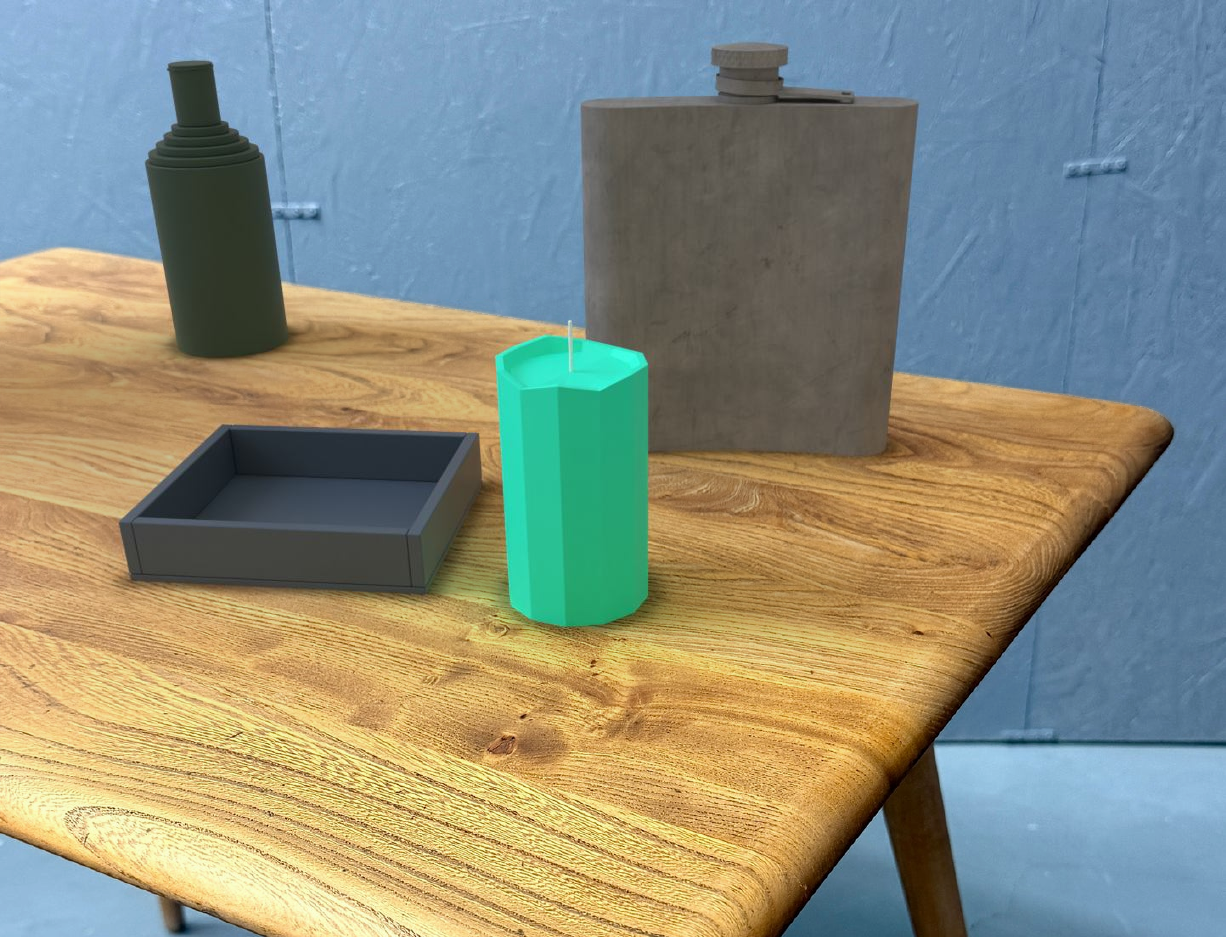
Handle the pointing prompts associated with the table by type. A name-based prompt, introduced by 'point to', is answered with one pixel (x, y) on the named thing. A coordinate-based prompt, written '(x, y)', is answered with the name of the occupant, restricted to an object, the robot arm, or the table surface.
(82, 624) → the table surface
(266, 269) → the flask
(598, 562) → the candle
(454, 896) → the table surface
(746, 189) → the hip flask
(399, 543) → the tray
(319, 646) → the table surface
